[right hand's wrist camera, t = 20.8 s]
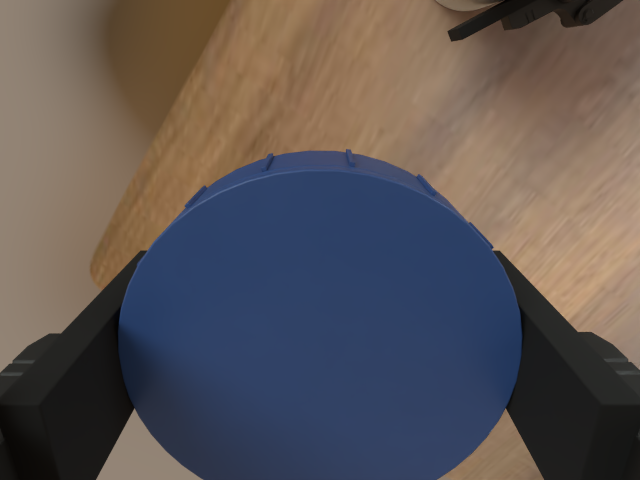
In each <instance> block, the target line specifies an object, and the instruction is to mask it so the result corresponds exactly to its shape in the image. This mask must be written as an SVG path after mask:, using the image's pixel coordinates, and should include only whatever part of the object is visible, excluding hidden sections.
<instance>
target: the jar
mask: <svg viewBox="0 0 640 480" xmlns="http://www.w3.org/2000/svg"><path fill="white" fill-rule="evenodd" d="M435 1H437V2H438V3H439V4H441V5H443V6H444V7H447V8H449V9H452V10H456V11H473V10H478V9H481V8H483V7H486V6H489V5H492V4H495V3H498V2H500V1H503V0H435Z"/></svg>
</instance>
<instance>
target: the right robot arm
mask: <svg viewBox="0 0 640 480" xmlns="http://www.w3.org/2000/svg"><path fill="white" fill-rule="evenodd" d="M146 252H147V251H140V252H139V253H138V254H137V255H136V256H135V257H134V258H133V259H132V260H131V261H130V262H129V263H128V264H127V265H126V266H125V268H124V269H123V270H122V271H121V272H120V273H119V274H118V275H117V276H116V277H115V278H114V279H113V280H112V281H111V282H110V283H109V284H108V285H107V286H106V287H105V288H104V289H103V290H102V292H101V293H100V294H99V295H98V296H97V297H96V298H95V299H94V300H93V301H92V302H91V303H90V304H89V305H88V306H87V307H86V308H85V309H84V310H83V311H82V312H81V313H80V314H79V316H78V317H77V318H76V319H75V320H74V321H73V322H72V323H71V324H70V325H69V326H68V327H67V328H66V329H65V330H64V331H63V332H62V333H61V334H48V335H46V336H44V337H43V338H41V339H39V340H38V341H36V342H34V343H32V344H31V345H29V346H27V347H26V348H25V349H24V350H23V351H22V352H21V353H20V354H19V355H18V356H17V357H16V358H15V359H14V360H13V363H12V364H9V365H8V366H7V367H6V368H5V369H4V370H3V371H2V372H1V373H0V480H96V479H97V477H98V475H99V473H100V471H101V469H102V467H103V466H104V464H105V462H106V460H107V458H108V456H109V454H110V453H111V451H112V449H113V447H114V445H115V443H116V441H117V440H118V438H119V436H120V434H121V432H122V430H123V428H124V427H125V425H126V423H127V421H128V419H129V417H130V415H131V414H132V412H133V410H134V406H133V404H132V402H131V400H130V398H129V395H128V392H127V389H126V386H125V383H124V380H123V375H122V369H121V364H120V359H119V353H118V326H119V319H120V312H121V307H122V303H123V300H124V297H125V294H126V290H127V287H128V284H129V282H130V280H131V278H132V276H133V274H134V272H135V270H136V268H137V263H138V262H139V261H140V259H141V258H142V257H143V256H144V255H145V254H146ZM493 252H494V253H495V255H496V257H497V258H498V260H499V261H500V263H501V264H502V266H503V267H504V269H505V272H506V274H507V276H508V278H509V280H510V282H511V285H512V287H513V289H514V292H515V296H516V300H517V303H518V307H519V310H520V317H521V326H522V355H521V361H520V366H519V371H518V377H517V381H516V384H515V387H514V390H513V392H512V395H511V398H510V401H509V403H508V404H507V406H506V409H507V411H508V413H509V415H510V417H511V419H512V420H513V422H514V424H515V426H516V428H517V430H518V432H519V433H520V435H521V437H522V439H523V441H524V443H525V445H526V446H527V448H528V450H529V452H530V454H531V456H532V458H533V459H534V461H535V463H536V465H537V467H538V469H539V471H540V472H541V474H542V476H543V478H544V480H640V370H639V369H638V368H637V367H636V366H635V365H634V364H633V363H632V362H628V359H627V358H626V357H625V356H624V355H623V354H622V353H621V352H620V351H619V350H618V349H617V348H616V347H615V346H614V345H613V344H611V343H609V342H608V341H606V340H604V339H602V338H601V337H599V336H597V335H595V334H594V333H592V332H577V331H576V330H575V329H574V328H573V327H572V326H571V325H570V323H569V322H568V321H567V320H566V319H565V318H564V317H563V316H562V315H561V314H560V313H559V312H558V311H557V310H556V309H555V308H554V307H553V306H552V305H551V304H550V303H549V302H548V301H547V300H546V298H545V297H544V296H543V295H542V294H541V293H540V292H539V291H538V290H537V289H536V288H535V287H534V286H533V285H532V284H531V283H530V282H529V281H528V280H527V279H526V278H525V277H524V276H523V275H522V273H521V272H520V271H519V270H518V269H517V268H516V267H515V266H514V265H513V264H512V263H511V262H510V261H509V260H508V259H507V258H506V257H505V256H504V255H503V254H502V253H501V252H500V251H493Z"/></svg>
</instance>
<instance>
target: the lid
mask: <svg viewBox="0 0 640 480" xmlns="http://www.w3.org/2000/svg"><path fill="white" fill-rule="evenodd" d="M185 207H186V208H185V209H184V210H183V211H182V212H181V213H180V214H179V216H178V217H177V218H176V219H175V220H174V221H173V222H172V223H171V224H170V225H169V226H168V227H167V228H166V229H165V230H164V232H163V233H162V234H161V235H160V236H159V237H158V238H157V239H156V240H155V241H154V242H153V244H152V245H151V247H150V248H149V249H148V251H147V252H146V254H145V255H144V256H143V257H142V258H141V259H140V261H139V262H138V263H137V268H136V270H135V272H134V274H133V276H132V278H131V280H130V282H129V284H128V287H127V290H126V294H125V297H124V300H123V303H122V307H121V312H120V319H119V326H118V353H119V359H120V364H121V369H122V375H123V380H124V383H125V386H126V389H127V392H128V395H129V398H130V400H131V402H132V404H133V406H134V408H135V410H136V411H137V414H138V416H139V417H140V419H141V420H142V422H143V423H144V425H145V426H146V427H147V429H148V430H149V432H150V433H151V435H152V436H153V437H154V438H155V439H156V440H157V441H158V443H159V444H160V445H161V446H162V447H163V448H164V449H165V450H166V451H167V452H168V453H169V454H170V455H171V456H172V457H173V458H175V459H176V460H177V461H178V462H179V463H180V464H181V465H183V466H184V467H185V468H187V469H188V470H190V471H191V472H193V473H194V474H196V475H197V476H198V477H200V478H201V479H203V480H437V479H439V478H440V477H442V476H443V475H445V474H446V473H448V472H449V471H451V470H452V469H454V468H455V467H456V466H457V465H459V464H460V463H461V462H462V461H463V460H465V459H466V458H467V457H468V456H469V455H471V454H472V453H473V452H474V450H475V449H476V448H477V447H478V446H479V445H480V444H481V443H482V442H483V441H484V440H485V439H486V438H487V436H488V435H489V433H490V432H491V431H492V429H493V428H494V426H495V425H496V424H497V422H498V421H499V419H500V418H501V416H502V414H503V412H504V410H505V408H506V406H507V404H508V403H509V401H510V398H511V395H512V392H513V390H514V387H515V384H516V381H517V377H518V371H519V366H520V361H521V355H522V326H521V317H520V310H519V307H518V303H517V300H516V296H515V292H514V289H513V287H512V285H511V282H510V280H509V278H508V276H507V274H506V272H505V269H504V267H503V266H502V264H501V263H500V261H499V260H498V258H497V257H496V255H495V253H494V252H493V250H492V249H493V248H494V247H493V246H492V244H491V243H490V242H489V241H488V240H487V239H486V238H485V237H484V236H483V235H482V234H481V233H480V232H479V231H478V229H477V228H476V227H475V226H474V225H473V224H472V223H471V222H470V223H468V222H467V221H466V220H465V219H464V217H463V216H462V215H461V214H460V213H459V212H458V211H457V210H456V209H455V208H454V207H453V206H452V205H451V204H450V202H449V201H448V200H447V199H446V198H444V197H443V196H442V195H441V194H440V193H438V192H437V191H436V190H435V189H434V188H432V186H431V185H430V184H429V183H428V182H427V181H426V180H425V179H424V178H423V177H422V176H421V175H420V174H418V176H417V177H416V176H414V175H412V174H411V173H409V172H408V171H405V170H403V169H401V168H398V167H396V166H394V165H391V164H389V163H387V162H385V161H381V160H377V159H374V158H370V157H367V156H363V155H359V154H352V152H351V150H349V149H346V153H345V152H338V151H303V152H295V153H287V154H281V155H278V156H273V153H271V154H268V156H267V158H266V159H262V160H259V161H256V162H254V163H251V164H249V165H246V166H244V167H241V168H239V169H237V170H235V171H233V172H231V173H230V174H228V175H226V176H224V177H223V178H221V179H219V180H218V181H216V182H214V183H213V184H212V185H211V186H209V187H208V188H207V187H206V186H203V187H202V188H201V189H200V190H199V191H198V192H197V193H196V194H195V195H194V196H193V197H192V198H191V199H190V200H189V201H188V203H187V204H186V205H185Z"/></svg>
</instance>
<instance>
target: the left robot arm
mask: <svg viewBox="0 0 640 480" xmlns="http://www.w3.org/2000/svg"><path fill="white" fill-rule="evenodd" d="M621 1H623V0H505V1H503V2H501V3H499V4H497V5H495V6H494V7H492V8H490V9H488V10H486V11H484V12H482V13H481V14H479V15H477V16H475V17H473V18H471V19H469V20H467V21H466V22H464V23H462V24H460V25H458V26H456V27H454V28H453V29H451V30H449V31H448V34H449V37H450V39H451V41H457V40H462V39H464V38H466V37H468V36H470V35H472V34H474V33H476V32H478V31H479V30H481V29H483V28H485V27H487V26H489V25H491V24H493V23H495V22H496V21H498V20H500V19H501V22H502V25H503V28H504V30H512V29H517V28H521V27H523V26H525V25H527V24H529V23H531V22H533V21H534V20H537V19H538V18H540V17H542V16H544V15H546V14H548V13H550V12H552V11H553V12H555V13H557V14H558V16H559V17H560V18H561V20H560V21H561V24H562V25H563V26H564V27H566V28H568V27H576V26H583V25H589V24H591V23H592V22H594V21H595V20H597V19H598V18H599V17H601V16H602V15H603V14H605V13H606V12H608V11H609V10H610V9H612V8H613V7H614V6H616V5H617V4H619V3H620V2H621Z"/></svg>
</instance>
